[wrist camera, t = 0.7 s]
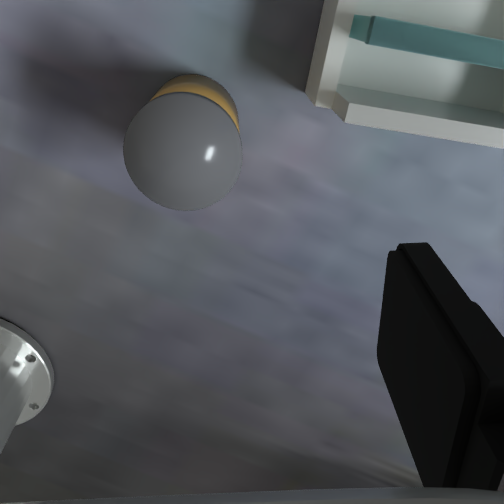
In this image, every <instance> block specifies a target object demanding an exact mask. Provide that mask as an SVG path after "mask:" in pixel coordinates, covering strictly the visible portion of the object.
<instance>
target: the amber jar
mask: <svg viewBox="0 0 504 504" xmlns="http://www.w3.org/2000/svg"><path fill="white" fill-rule="evenodd" d="M123 153H124V161H125V165H126V168H127V171H128V173H129V175H130V177H131V179H132V181H133V182H134V184H135V185H136V186H137V188H138V189H139V190H140V191H141V192H142V193H143V194H144V195H145V196H146V197H148V198H149V199H150V200H152V201H154V202H155V203H157V204H159V205H161V206H163V207H166V208H170V209H174V210H181V211H193V210H199V209H203V208H206V207H208V206H211V205H213V204H215V203H216V202H218V201H220V200H221V199H222V198H223V197H225V196H226V195H227V194H228V193H229V192H230V190H231V189H232V188H233V186H234V185H235V183H236V181H237V179H238V177H239V174H240V171H241V166H242V143H241V138H240V134H239V120H238V112H237V108H236V105H235V103H234V101H233V99H232V97H231V96H230V94H229V93H228V92H227V90H226V89H225V88H224V87H223V86H222V85H220V84H219V83H218V82H216V81H214V80H212V79H211V78H208V77H205V76H201V75H195V74H188V75H182V76H178V77H175V78H173V79H171V80H169V81H168V82H166V83H165V84H164V85H163V86H162V87H161V88H160V89H159V90H158V91H157V93H156V94H155V95H154V96H153V98H152V99H151V100H150V101H149V102H148V103H147V104H145V105H144V106H143V107H142V108H141V109H140V110H139V112H138V113H137V114H136V115H135V117H134V118H133V119H132V121H131V123H130V124H129V126H128V129H127V131H126V134H125V138H124V146H123Z"/></svg>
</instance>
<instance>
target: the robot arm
mask: <svg viewBox="0 0 504 504" xmlns="http://www.w3.org/2000/svg"><path fill="white" fill-rule="evenodd" d="M377 359H378V364H379V367H380V370H381V373H382V375H383V378H384V381H385V383H386V386H387V389H388V392H389V394H390V397H391V400H392V402H393V405H394V408H395V410H396V413H397V416H398V419H399V421H400V424H401V427H402V429H403V432H404V435H405V437H406V440H407V443H408V446H409V448H410V451H411V454H412V456H413V459H414V462H415V465H416V467H417V470H418V473H419V475H420V478H421V481H422V483H423V486H424V487H397V488H356V489H315V490H289V491H265V492H240V493H216V494H192V495H167V496H144V497H122V498H100V499H78V500H57V501H36V502H15V503H0V504H504V337H503V336H502V335H501V333H500V332H499V331H498V329H497V328H496V327H495V326H494V324H493V323H492V322H491V320H490V319H489V318H488V316H487V315H486V314H485V312H484V311H483V310H482V308H481V307H480V306H479V305H478V304H477V303H476V302H473V301H471V300H470V299H469V297H468V296H467V294H466V293H465V292H464V290H463V289H462V288H461V286H460V285H459V284H458V282H457V281H456V280H455V278H454V277H453V276H452V274H451V273H450V272H449V270H448V269H447V268H446V266H445V265H444V264H443V262H442V261H441V259H440V258H439V257H438V255H437V254H436V253H435V251H434V250H433V249H432V247H431V246H430V245H429V244H428V243H425V242H424V243H403V244H399V245H398V246H397V249H396V251H390V252H389V254H388V258H387V266H386V275H385V283H384V292H383V301H382V309H381V318H380V327H379V335H378V344H377ZM53 385H54V372H53V368H52V365H51V362H50V360H49V358H48V356H47V354H46V353H45V351H44V350H43V349H42V347H41V346H40V345H39V344H38V343H37V341H36V340H34V339H33V338H32V337H31V336H30V335H29V334H27V333H26V332H25V331H23V330H22V329H20V328H18V327H17V326H15V325H14V324H12V323H9V322H7V321H5V320H3V319H0V454H1V452H2V450H3V448H4V446H5V444H6V442H7V440H8V438H9V436H10V434H11V432H12V430H13V428H14V426H15V425H19V424H22V423H24V422H26V421H28V420H30V419H32V418H33V417H34V416H36V415H37V414H38V413H39V412H40V411H41V410H42V409H43V408H44V406H45V405H46V403H47V402H48V399H49V397H50V395H51V393H52V389H53Z"/></svg>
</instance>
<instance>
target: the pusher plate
mask: <svg viewBox="0 0 504 504" xmlns="http://www.w3.org/2000/svg"><path fill="white" fill-rule="evenodd" d="M349 37H350V38H353V39H356V40H360V41H363V42H365V44H368V45H374V46H379V47H385V48H390V49H396V50H401V51H406V52H412V53H417V54H423V55H428V56H434V57H439V58H444V59H450V60H455V61H461V62H466V63H471V64H477V65H482V66H488V67H493V68H499V69H504V40H499V39H494V38H488V37H483V36H478V35H473V34H468V33H462V32H457V31H452V30H447V29H441V28H436V27H431V26H426V25H421V24H415V23H410V22H405V21H400V20H395V19H389V18H384V17H379V16H363V15H355V14H354V18H353V22H352V26H351V30H350V34H349Z"/></svg>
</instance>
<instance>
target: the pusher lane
mask: <svg viewBox="0 0 504 504" xmlns="http://www.w3.org/2000/svg"><path fill="white" fill-rule="evenodd" d="M354 14H355V15H363V16H379V17H384V18H389V19H395V20H400V21H405V22H410V23H415V24H421V25H426V26H431V27H436V28H441V29H447V30H452V31H457V32H462V33H468V34H473V35H478V36H483V37H488V38H494V39H499V40H504V0H324V4H323V9H322V14H321V18H320V23H319V28H318V33H317V37H316V42H315V47H314V52H313V56H312V61H311V66H310V71H309V75H308V80H307V85H306V90H305V94H306V95H307V96H308V98H309V99H310V100H311V102H312V103H313V104H314V105H315V106H318V107H324V108H330V109H332V110H333V111H334V112H335V113H336V114H337V115H338V116H339V117H340V118H341V119H342V121H343V122H344V123H350V124H356V125H362V126H368V127H374V128H380V129H386V130H392V131H399V132H405V133H411V134H417V135H423V136H429V137H435V138H441V139H447V140H453V141H460V142H466V143H472V144H478V145H484V146H490V147H496V148H502V149H504V69H499V68H493V67H488V66H482V65H477V64H471V63H466V62H461V61H455V60H450V59H444V58H439V57H434V56H428V55H423V54H417V53H412V52H406V51H401V50H396V49H390V48H385V47H379V46H374V45H368V44H365V42H363V41H360V40H356V39H353V38H350V37H349V34H350V30H351V26H352V22H353V18H354Z"/></svg>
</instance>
